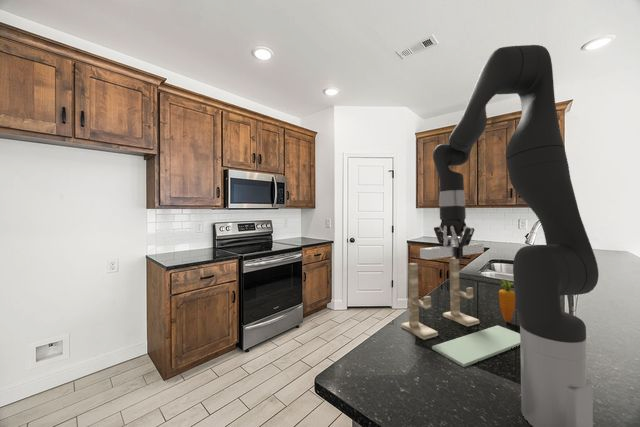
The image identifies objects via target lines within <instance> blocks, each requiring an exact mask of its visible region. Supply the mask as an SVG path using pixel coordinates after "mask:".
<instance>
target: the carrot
mask: <svg viewBox="0 0 640 427" xmlns="http://www.w3.org/2000/svg"><path fill="white" fill-rule="evenodd" d="M501 282H502V284H500V286H501V287H502V288H503V289H499V291H498V299H499V309H500V312H501V316H502V317H503V319H504V321H505V322H506V323H507V322H508V323H509V322H511V320H512V318H513V317H514V313H515V310H516V309H515V308H516V303H515V291H513V290H511V288H512V287H513V286H514V282H510V281H509V280H507V281H506V280H505V279H504V278H502V279H501Z"/></svg>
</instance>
